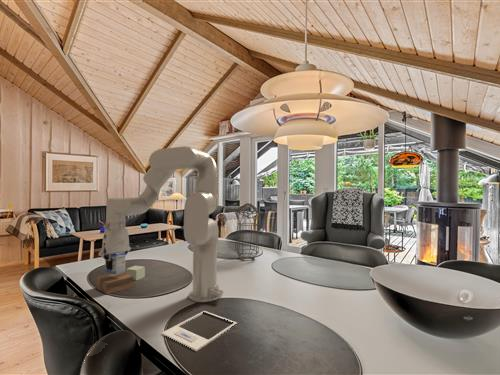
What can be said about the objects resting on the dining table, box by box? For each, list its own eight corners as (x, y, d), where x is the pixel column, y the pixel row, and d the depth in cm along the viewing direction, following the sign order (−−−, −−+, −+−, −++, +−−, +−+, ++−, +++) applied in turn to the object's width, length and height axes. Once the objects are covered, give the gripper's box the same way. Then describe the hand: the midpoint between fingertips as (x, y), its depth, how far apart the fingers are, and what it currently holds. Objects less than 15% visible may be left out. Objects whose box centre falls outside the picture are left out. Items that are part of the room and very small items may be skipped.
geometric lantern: (231, 256, 174) (233, 202, 175) (254, 255, 179) (256, 202, 179) (237, 262, 159) (239, 203, 160) (262, 261, 163) (264, 203, 164)
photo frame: (161, 332, 81) (204, 310, 95) (161, 335, 81) (204, 313, 95) (196, 348, 72) (237, 322, 87) (196, 353, 72) (237, 325, 87)
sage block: (144, 276, 133) (145, 266, 133) (136, 280, 127) (136, 270, 127) (134, 275, 135) (135, 265, 135) (125, 279, 129) (126, 268, 129)
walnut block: (133, 288, 118) (133, 276, 118) (107, 295, 110) (107, 283, 110) (121, 282, 126) (122, 271, 126) (96, 288, 117) (96, 277, 117)
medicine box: (104, 271, 118) (104, 251, 118) (113, 269, 122) (114, 249, 122) (116, 274, 114) (116, 254, 114) (125, 271, 118) (125, 252, 118)
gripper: (101, 229, 109) (100, 274, 109) (138, 224, 123) (137, 264, 123) (91, 227, 113) (90, 271, 113) (128, 223, 127) (127, 262, 127)
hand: (115, 267), depth 118 cm, fingers closed on medicine box, 4 cm apart
